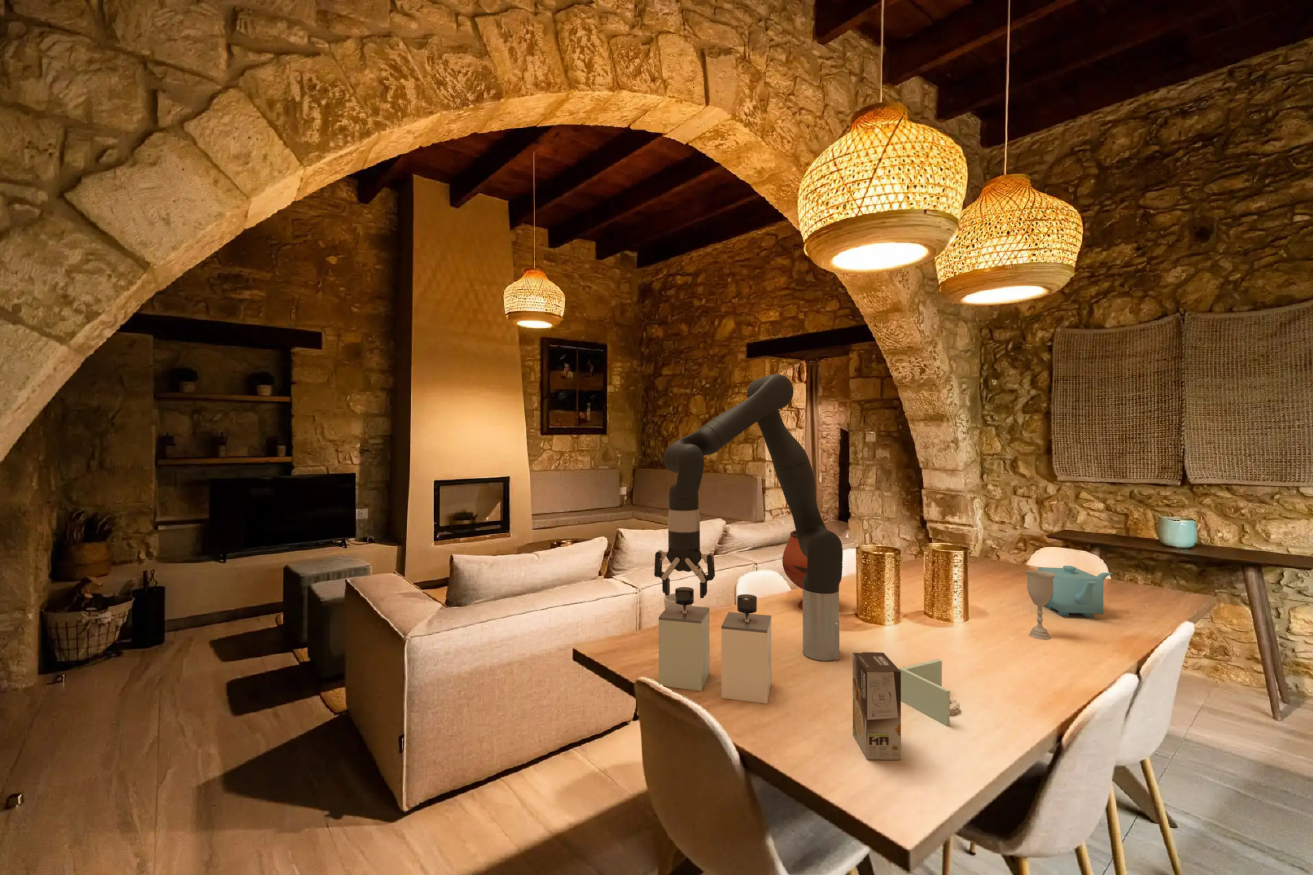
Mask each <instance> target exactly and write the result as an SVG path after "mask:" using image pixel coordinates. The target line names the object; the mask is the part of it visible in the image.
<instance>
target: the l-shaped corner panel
mask: <svg viewBox="0 0 1313 875" xmlns="http://www.w3.org/2000/svg"><path fill="white" fill-rule="evenodd" d="M898 669H899V670H900V671H901V703H904V704H905V705H907V706H909V707H910V708H912V709H914V710H916V711H918V712H920V713H922V714H924V715H925V716H927V717H929V718H931V719H933V720H935V721H936V722H938V723H940V724H942V725H943V726H945V727H948V726H951V725H950V722H951V721H950V718H951V717H950V716H952V717H955V715H957V716H959V715H960V712H961V711H960V706H961V705H960V703H959V702H957V699H955V698H952V697H951V690H949V689H948V688H945V687H943V685H942V683H943V678H942V677H943V676H942V674H943V673H942V672H943V660H942V659H939V658H937V659H932V660H928V661H924V662H920V663H915V664H912V665H911V664H910V665H908V666H906V665H905V666H902V667H898Z"/></svg>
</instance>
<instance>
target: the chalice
mask: <svg viewBox="0 0 1313 875" xmlns="http://www.w3.org/2000/svg"><path fill="white" fill-rule="evenodd" d="M1024 573H1025V575H1026V591H1027V593H1028V595H1029V597H1030V598H1031V600H1032V603H1033V605H1035V606H1037V611H1036V614H1037V617H1036V618H1035V619H1036V622H1037V625H1036V626H1032V628H1031V630H1030V633H1029V634H1028V635H1029V637H1032V638H1034V639H1038V640H1043V641H1044V640H1050V639H1051V636H1050V634H1049V632H1048V630H1047V628H1045V627H1044V626H1043V621H1044V618H1043V614H1044V612H1043V607H1046V606H1047V603H1048V601H1049V600H1050V598H1051V596H1052V594H1053V579H1054V577H1055V576H1056V575H1055V574H1054V573H1051V572H1046V571H1038V569H1037V570H1033V569H1030V570H1029V569H1028V570H1025V571H1024Z"/></svg>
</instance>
